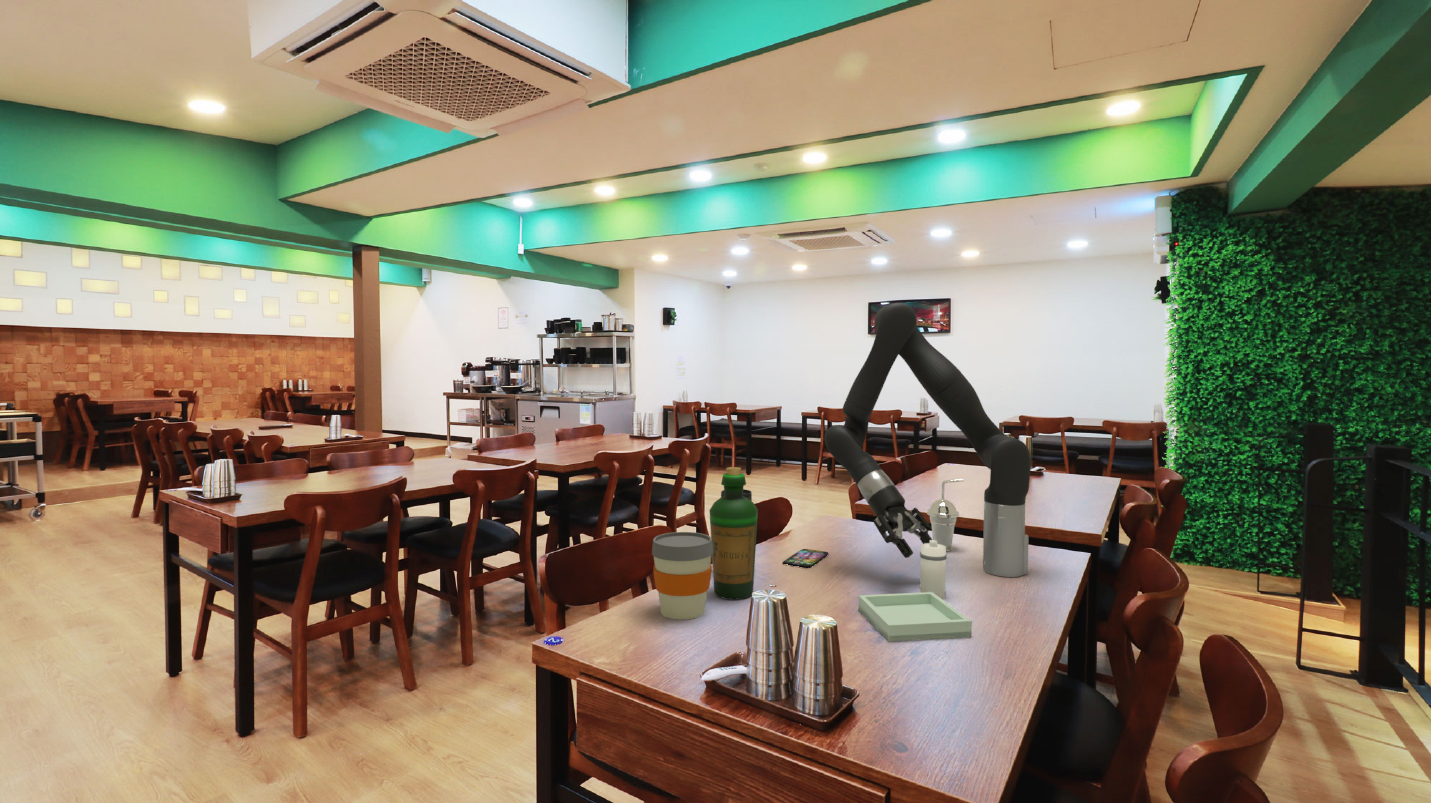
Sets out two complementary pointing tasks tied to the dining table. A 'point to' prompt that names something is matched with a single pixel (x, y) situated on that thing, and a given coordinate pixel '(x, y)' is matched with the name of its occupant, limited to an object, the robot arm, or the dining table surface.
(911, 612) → the pale green rectangular tray
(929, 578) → the white capped canister
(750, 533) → the bottle
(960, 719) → the dining table surface
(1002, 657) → the dining table surface
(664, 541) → the reusable coffee cup
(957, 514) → the cup with straw
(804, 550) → the smartphone
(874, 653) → the dining table surface
